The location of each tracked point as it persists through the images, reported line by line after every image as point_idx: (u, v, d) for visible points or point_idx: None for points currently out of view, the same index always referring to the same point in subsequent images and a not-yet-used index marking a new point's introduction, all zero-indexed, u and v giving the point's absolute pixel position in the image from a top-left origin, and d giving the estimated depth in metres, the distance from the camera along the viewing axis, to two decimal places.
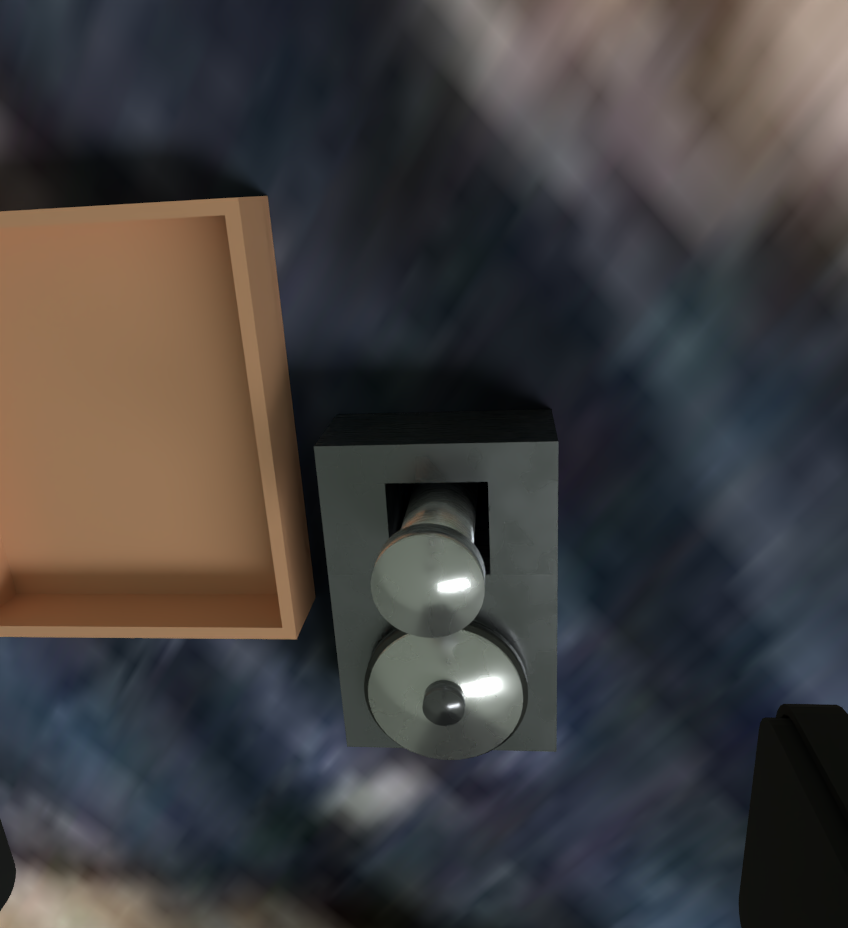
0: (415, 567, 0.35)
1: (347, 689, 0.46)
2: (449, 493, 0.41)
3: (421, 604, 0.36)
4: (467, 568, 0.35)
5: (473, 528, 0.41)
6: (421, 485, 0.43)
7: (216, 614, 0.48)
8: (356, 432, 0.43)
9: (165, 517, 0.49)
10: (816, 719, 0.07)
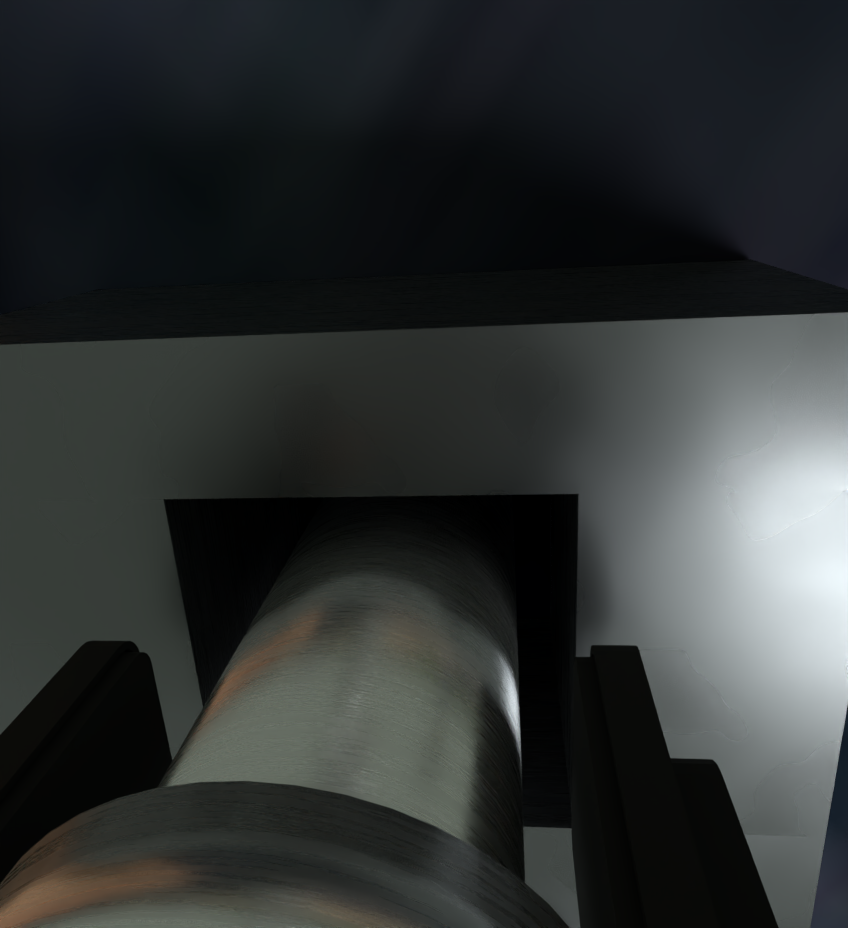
0: None
1: None
2: (421, 536, 0.11)
3: None
4: None
5: (516, 683, 0.10)
6: (331, 504, 0.13)
7: None
8: (93, 315, 0.12)
9: None
10: (612, 656, 0.08)
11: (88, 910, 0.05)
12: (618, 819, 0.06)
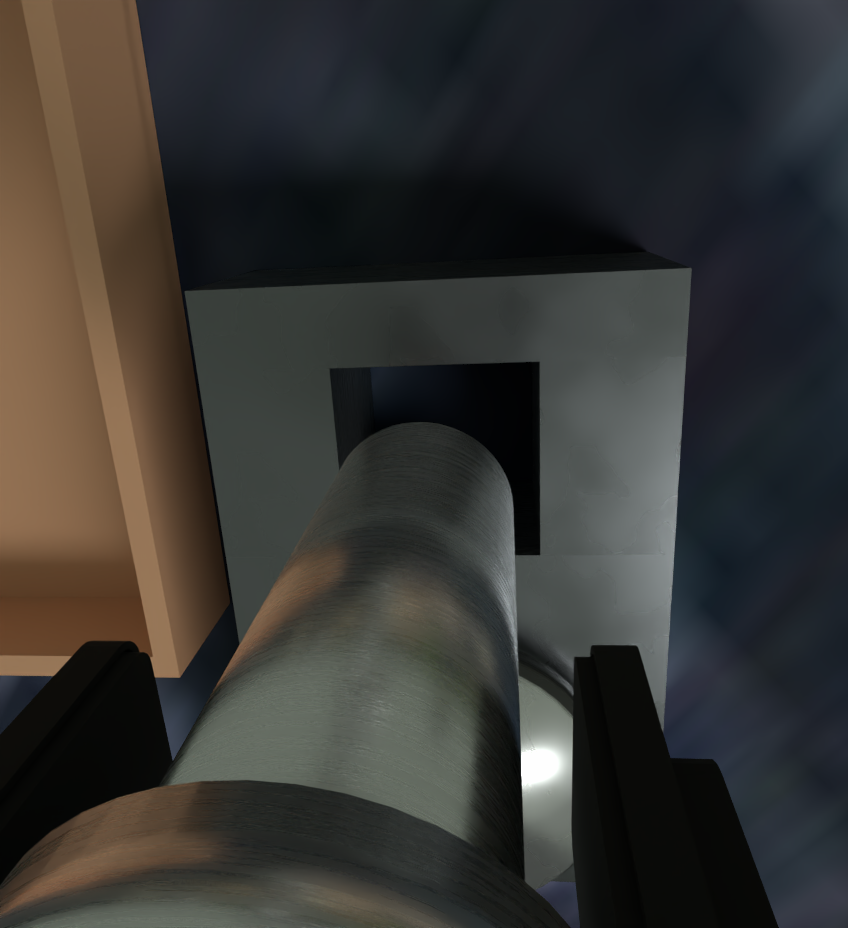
0: None
1: None
2: (421, 536, 0.11)
3: None
4: None
5: (517, 682, 0.10)
6: (331, 504, 0.13)
7: (45, 631, 0.27)
8: (278, 279, 0.22)
9: None
10: (612, 655, 0.08)
11: (91, 908, 0.05)
12: (618, 819, 0.06)
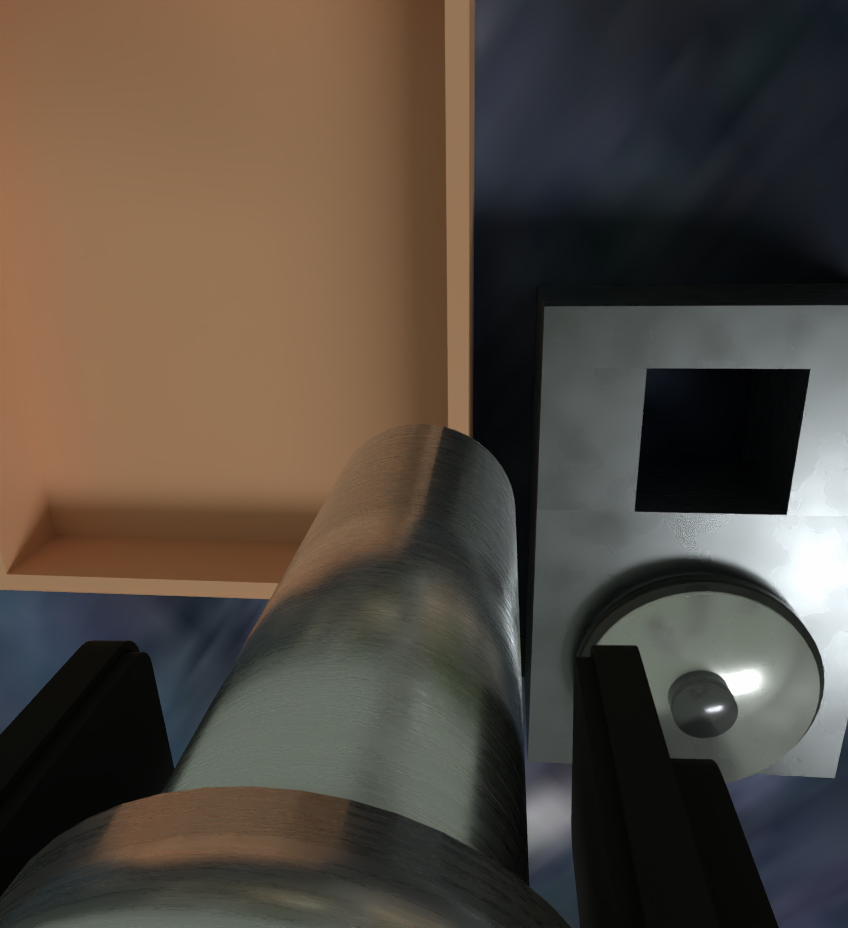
0: None
1: (540, 680, 0.32)
2: (424, 539, 0.11)
3: None
4: None
5: (520, 686, 0.10)
6: (334, 506, 0.13)
7: None
8: (591, 296, 0.29)
9: (275, 430, 0.34)
10: (612, 656, 0.08)
11: (97, 915, 0.05)
12: (618, 819, 0.06)
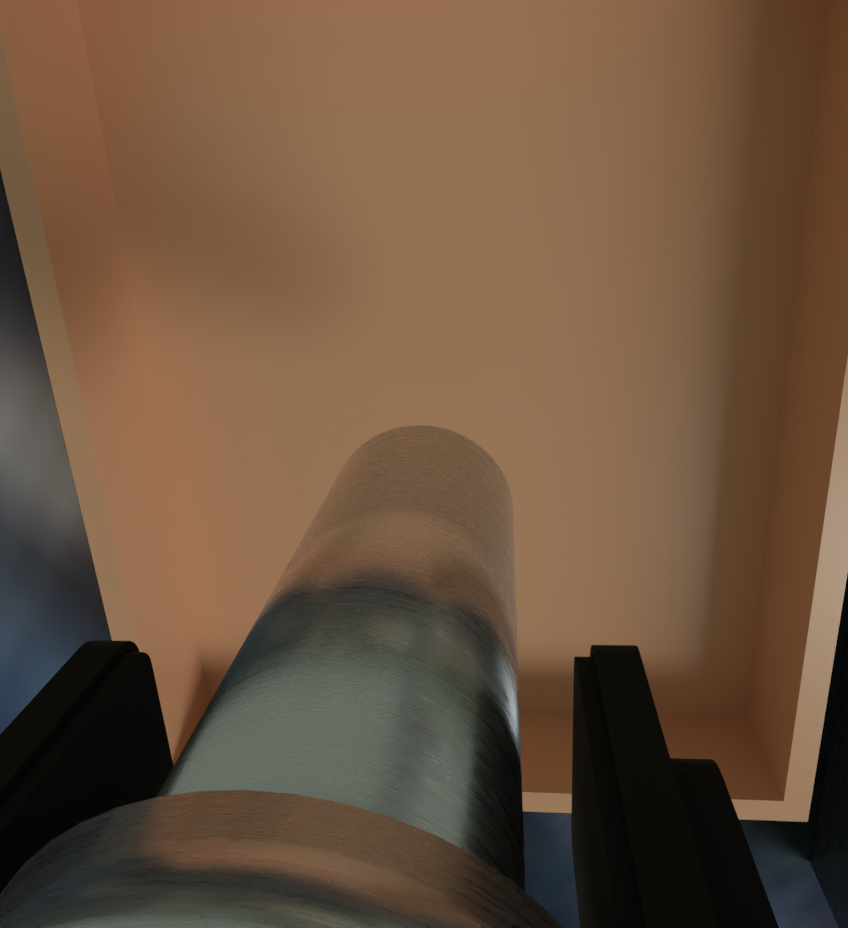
0: None
1: None
2: (421, 541, 0.11)
3: None
4: None
5: (517, 687, 0.10)
6: (331, 508, 0.13)
7: None
8: None
9: None
10: (612, 655, 0.08)
11: (90, 920, 0.05)
12: (618, 819, 0.06)
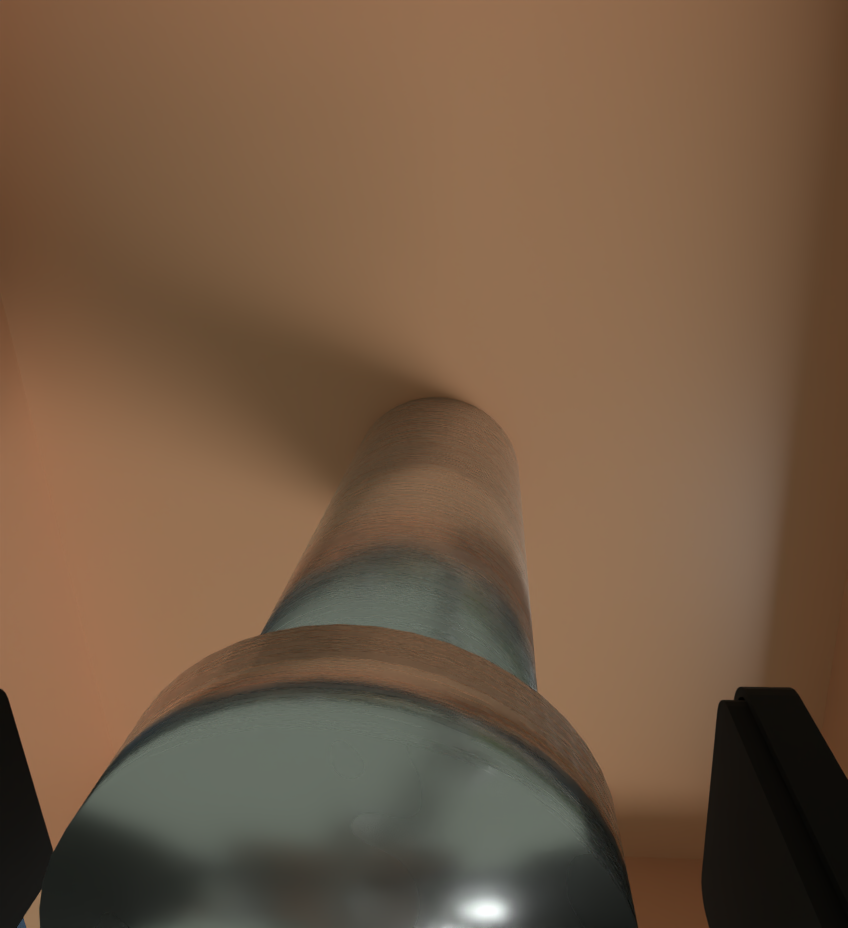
0: (264, 882, 0.06)
1: None
2: (445, 484, 0.13)
3: None
4: (556, 898, 0.06)
5: (529, 604, 0.12)
6: (362, 463, 0.15)
7: None
8: None
9: None
10: (769, 700, 0.08)
11: (238, 697, 0.06)
12: (835, 906, 0.06)
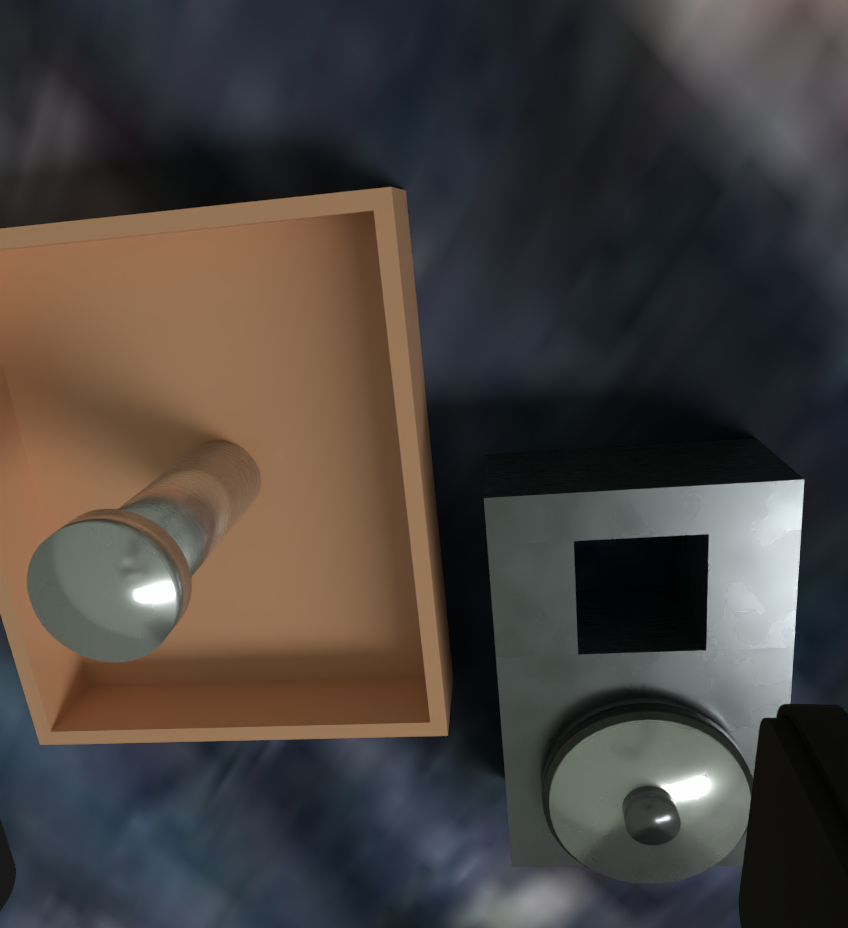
0: (80, 567, 0.26)
1: (514, 797, 0.37)
2: (186, 476, 0.33)
3: (98, 618, 0.27)
4: (146, 565, 0.26)
5: (212, 519, 0.32)
6: None
7: (341, 706, 0.39)
8: (526, 477, 0.34)
9: (273, 588, 0.40)
10: (816, 719, 0.07)
11: (72, 522, 0.26)
12: None
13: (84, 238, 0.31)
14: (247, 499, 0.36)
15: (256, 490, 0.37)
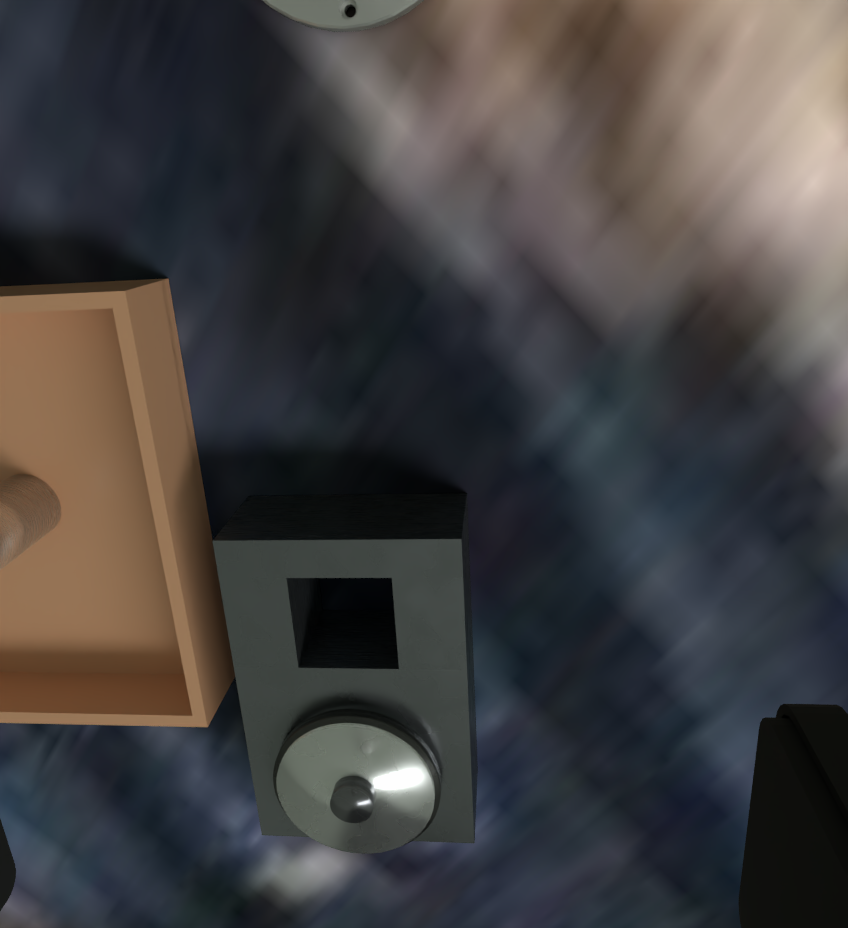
0: None
1: (259, 779, 0.45)
2: None
3: None
4: None
5: None
6: None
7: (128, 698, 0.47)
8: (261, 521, 0.41)
9: (77, 597, 0.47)
10: (816, 719, 0.07)
11: None
12: None
13: None
14: (40, 526, 0.43)
15: (54, 517, 0.45)
